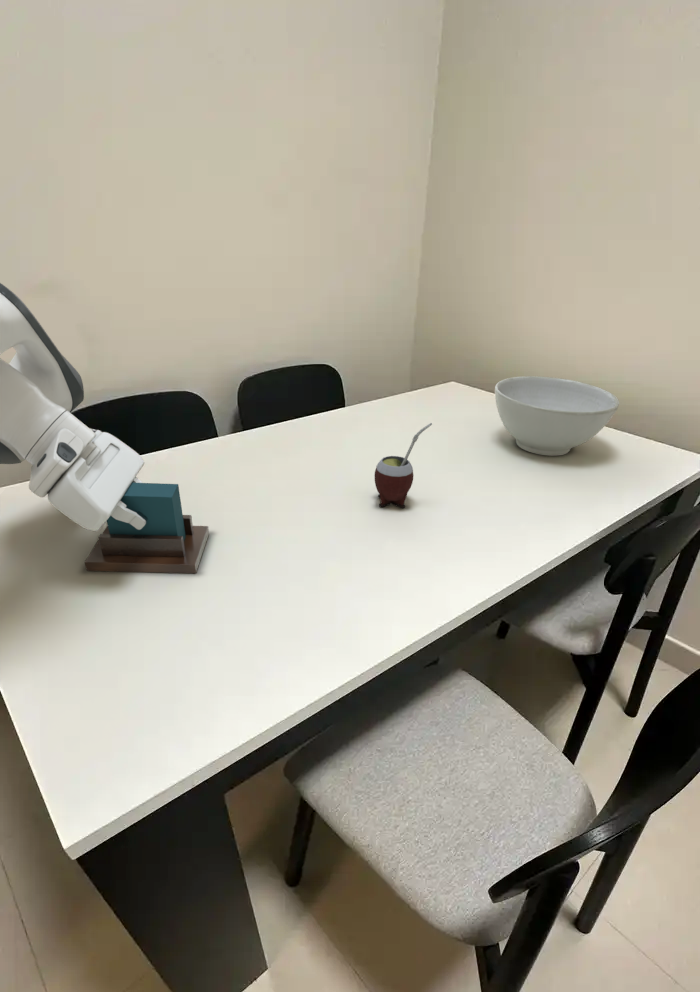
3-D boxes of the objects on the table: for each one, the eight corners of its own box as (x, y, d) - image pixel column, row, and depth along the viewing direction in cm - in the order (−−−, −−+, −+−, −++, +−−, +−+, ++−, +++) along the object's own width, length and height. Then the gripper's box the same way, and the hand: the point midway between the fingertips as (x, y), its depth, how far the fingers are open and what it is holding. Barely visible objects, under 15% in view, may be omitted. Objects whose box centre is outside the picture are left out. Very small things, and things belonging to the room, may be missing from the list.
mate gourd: (364, 501, 108) (370, 420, 99) (392, 489, 113) (400, 411, 104) (394, 515, 104) (403, 432, 95) (422, 502, 109) (433, 423, 100)
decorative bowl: (477, 423, 147) (487, 372, 139) (583, 429, 147) (598, 379, 139) (494, 464, 125) (506, 407, 118) (618, 472, 125) (638, 416, 118)
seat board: (86, 570, 86) (79, 544, 83) (110, 531, 95) (104, 506, 92) (196, 573, 86) (192, 547, 84) (209, 534, 96) (206, 509, 93)
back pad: (113, 549, 88) (100, 494, 82) (121, 535, 91) (109, 481, 86) (180, 551, 88) (171, 497, 83) (185, 537, 92) (178, 483, 86)
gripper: (79, 438, 90) (153, 498, 96) (23, 496, 74) (117, 563, 80) (102, 410, 88) (176, 473, 94) (50, 463, 71) (144, 535, 78)
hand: (149, 515), depth 87 cm, fingers closed on back pad, 4 cm apart
